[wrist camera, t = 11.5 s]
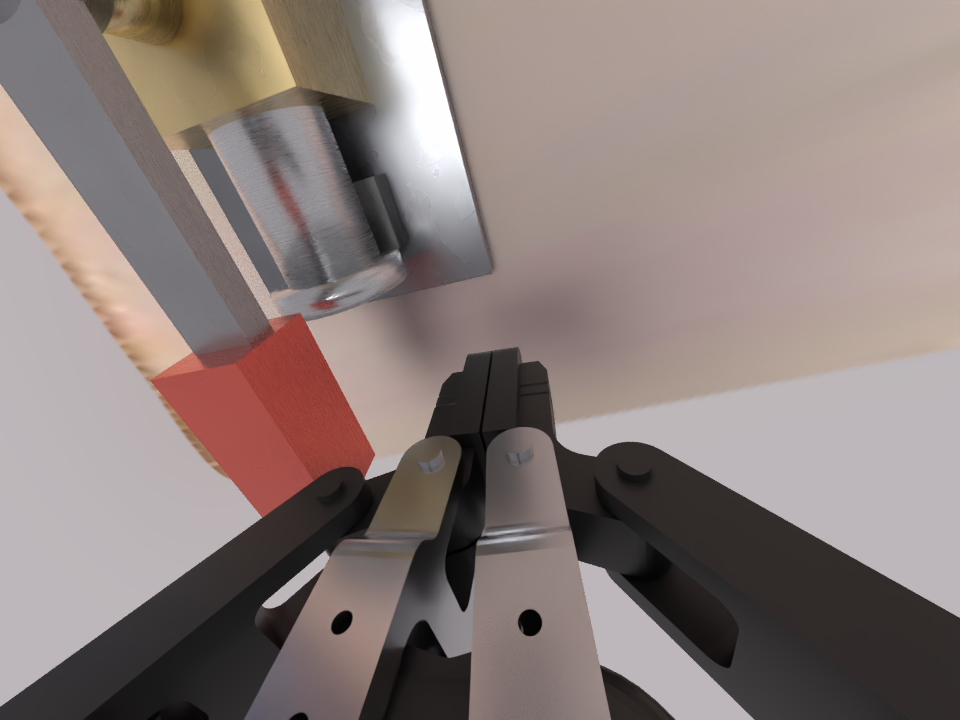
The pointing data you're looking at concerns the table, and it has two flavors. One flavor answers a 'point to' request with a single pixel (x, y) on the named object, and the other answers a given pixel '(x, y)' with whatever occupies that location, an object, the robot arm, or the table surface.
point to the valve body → (314, 139)
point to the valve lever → (179, 261)
